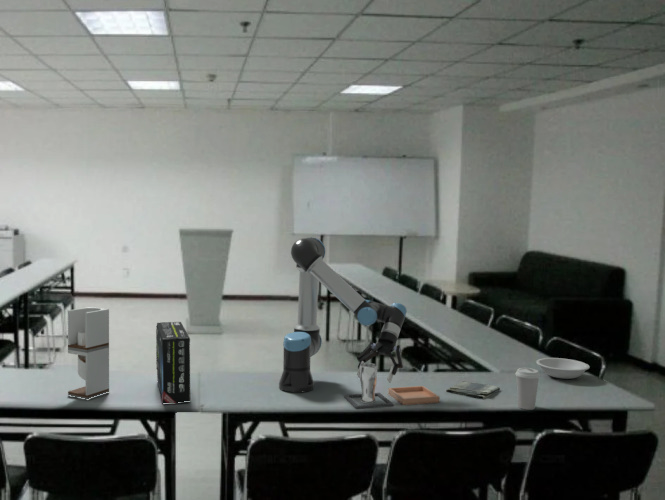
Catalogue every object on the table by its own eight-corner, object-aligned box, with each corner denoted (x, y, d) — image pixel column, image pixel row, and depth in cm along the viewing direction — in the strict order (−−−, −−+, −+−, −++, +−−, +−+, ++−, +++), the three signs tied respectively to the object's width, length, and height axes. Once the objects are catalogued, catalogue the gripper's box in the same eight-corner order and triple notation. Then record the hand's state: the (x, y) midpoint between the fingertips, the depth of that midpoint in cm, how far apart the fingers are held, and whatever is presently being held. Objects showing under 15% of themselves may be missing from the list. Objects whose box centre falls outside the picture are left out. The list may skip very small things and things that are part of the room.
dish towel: (462, 384, 287) (462, 377, 287) (500, 391, 277) (500, 384, 277) (444, 393, 272) (445, 386, 272) (484, 401, 262) (484, 393, 261)
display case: (90, 389, 265) (90, 306, 262) (109, 393, 260) (109, 309, 258) (68, 396, 254) (67, 310, 252) (87, 400, 250) (87, 313, 247)
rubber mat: (355, 408, 246) (355, 406, 246) (343, 396, 262) (343, 394, 262) (393, 405, 251) (393, 403, 251) (379, 394, 266) (379, 392, 266)
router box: (155, 381, 278) (155, 321, 277) (181, 380, 282) (181, 321, 280) (162, 406, 245) (162, 338, 243) (191, 403, 249) (191, 336, 247)
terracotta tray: (402, 405, 252) (403, 399, 252) (388, 393, 267) (388, 388, 267) (439, 402, 257) (439, 396, 256) (422, 391, 272) (423, 385, 272)
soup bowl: (597, 384, 289) (598, 370, 289) (544, 383, 289) (545, 369, 289) (577, 371, 313) (578, 358, 312) (529, 370, 313) (529, 357, 313)
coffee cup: (540, 411, 248) (541, 374, 247) (514, 409, 249) (516, 372, 249) (537, 404, 257) (538, 368, 256) (513, 402, 259) (514, 366, 258)
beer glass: (379, 400, 258) (379, 364, 257) (372, 404, 252) (373, 367, 251) (363, 397, 261) (364, 362, 260) (356, 402, 255) (357, 365, 254)
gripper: (418, 344, 265) (404, 387, 253) (365, 337, 277) (349, 378, 265) (414, 333, 260) (399, 377, 248) (360, 327, 272) (343, 369, 260)
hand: (373, 378), depth 257 cm, fingers open, 13 cm apart
